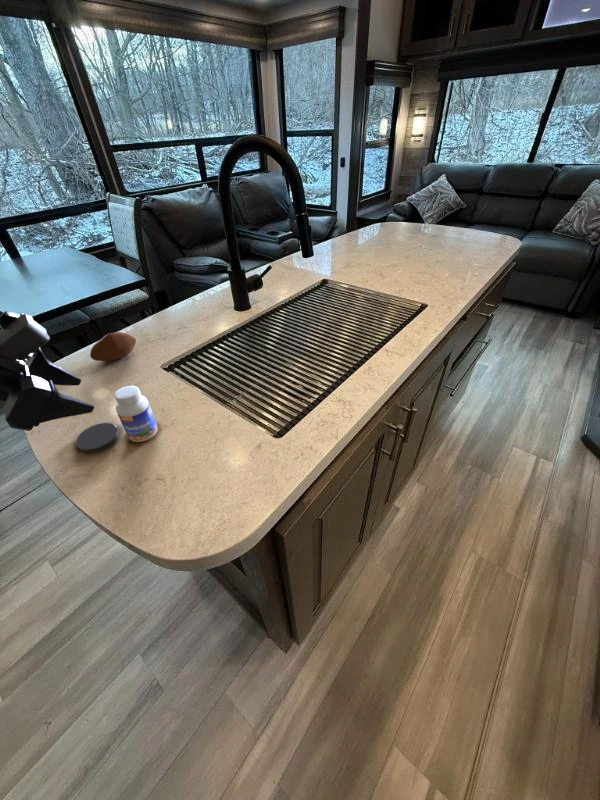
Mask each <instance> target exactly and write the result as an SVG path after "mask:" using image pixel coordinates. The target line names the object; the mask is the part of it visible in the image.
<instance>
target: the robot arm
mask: <svg viewBox="0 0 600 800" xmlns="http://www.w3.org/2000/svg"><path fill="white" fill-rule="evenodd" d="M0 327H1V329H0V401H2V402H5V404H4V406H3V411H4V419H5V422H6V423H7V425H8V426H9V427H10V428H11V429H13V430H14V429H15V430H20V431H26V432H31V431H32V430H33V428H34V427H39V425H40V424H42V423H47V422H50V421H55V420H60V419H64V418H69V417H75V416H80V415H85V414H86V415H87V414H91V413H92V412H94V409H95V406H94V405H93V404H91V403H89V402H86V401H83V400H81V399H78V398H76V397H73V396H70V395H68V394H65V393H62V392H60V391H59V390H58V389H57V386H80V385H81V383H82V379H81V378H79V377H78V376H76V375H75V374H72V373H71V372H69V371H67V370H66V369H64V368H62V367H60V366H58V365H57V364H55V363H53V362H52V361H50V360H49V359H48V358H47V357H46V355H45V354H44V352H43V349H42V347H44V346H45V345H47V344H48V343H49V341H50V339H51V337H50V335H49V334H48V330H47V328H45V327H44V326H42V325H41V324H39V323H38V322H37V321H35V320H34V317H33V316H32V315H28V314H27V313H23V312H20V313H15V312H12V311H9V310H8V311H7V310H5V311H4V312H2V313H1V314H0Z"/></svg>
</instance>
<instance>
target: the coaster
mask: <svg viewBox="0 0 600 800" xmlns="http://www.w3.org/2000/svg"><path fill="white" fill-rule="evenodd" d="M119 435H120V431H119V429H118V427H117V426H116V425H115V424H114V423H110V422H102V423H97V424H94V425H91V426H89V427H87V428H86V429H85V430H83V431H82V432H81V433H80V434H79V435H78V436H77V438H76V442H75V443H76V446H77V447H78V449H79V450H80V451H82V452H84V453H96V452H99V451H102V450H104V449H106V448H108V447H110V446H111V445H113V444H114V443H115V442H116V441H117V439H118V438H119Z"/></svg>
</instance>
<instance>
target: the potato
mask: <svg viewBox="0 0 600 800" xmlns="http://www.w3.org/2000/svg"><path fill="white" fill-rule="evenodd" d="M136 339H137V338H136V337H134V336H133V335H132V334H129V333H127V332H124V331H123V332H122V331H117V332H116V331H115V332H110V333H107V334H105V335H104V336H103V337H102V338H101V339H99V340H98V341H97V342H95V343H94V345H93V346H92V348H91V349H90V354H89V356H90V359H92V360H94V361H97V362H110V361H115V360H119V359H122V358H125V357H127V356H129V354H130V353H132V351H133V350H134V348H135V346H136V342H137V340H136Z"/></svg>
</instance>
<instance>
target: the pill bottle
mask: <svg viewBox="0 0 600 800" xmlns="http://www.w3.org/2000/svg"><path fill="white" fill-rule="evenodd" d="M114 398H115V400H116V404H115V412H116V414H117V416H118V418H119V421H120V423H121V425H122V428H123V429H124V432H125V433H126V436H127V438H128V439H129V440H130V441H131V442H136V443H140V442H145V441H148V440H151V439H152V438H153V437H154V436H155V435H156V434H157V432H158V424H157V421H156V419H155V416H154V413H153V411H152V408H151V405H150V403H149V400H148V398H147V397H146V396H144V395H142V393H141V390H140V388H139V387H138V386H135V385H126V386H123V387H120V388H119V389H117V390H116V391H115V393H114Z"/></svg>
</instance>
